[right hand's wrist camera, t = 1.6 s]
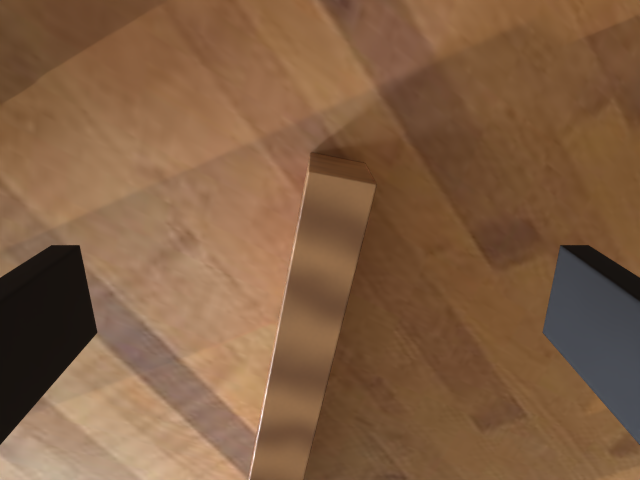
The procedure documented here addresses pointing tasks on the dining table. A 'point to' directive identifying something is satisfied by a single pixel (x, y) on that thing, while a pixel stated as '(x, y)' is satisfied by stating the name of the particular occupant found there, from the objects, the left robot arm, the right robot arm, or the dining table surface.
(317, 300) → the post
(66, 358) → the right robot arm
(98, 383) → the dining table surface
